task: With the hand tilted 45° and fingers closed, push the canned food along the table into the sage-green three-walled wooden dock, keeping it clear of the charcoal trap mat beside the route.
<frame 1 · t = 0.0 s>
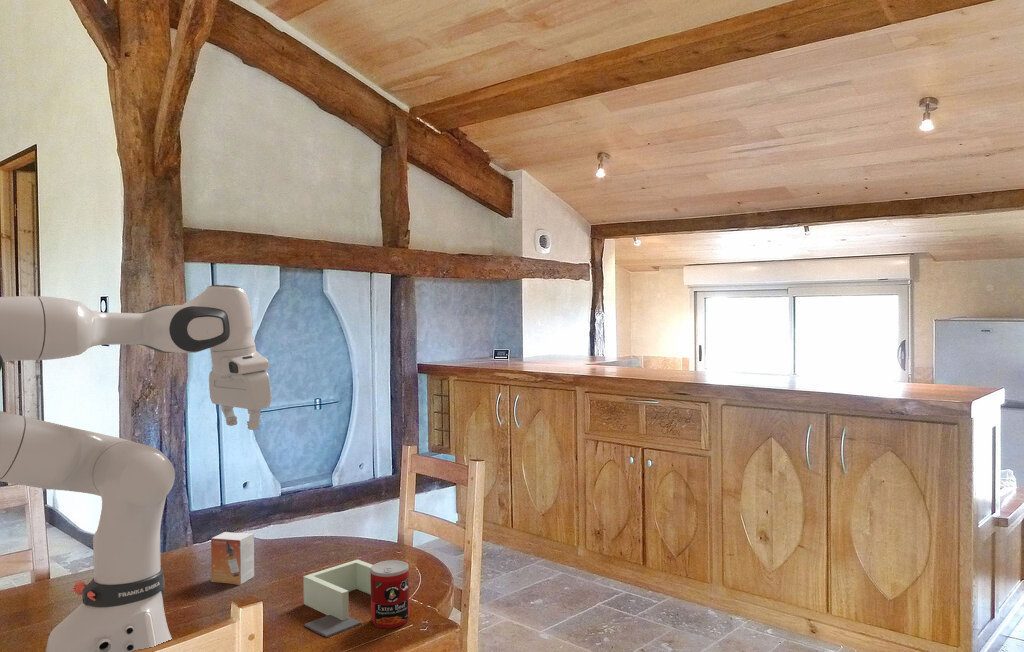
hand: (242, 427, 152), 39 cm above the table, tool pointing down, fingers open, 8 cm apart
small box: (233, 580, 171), on the table
dock: (353, 603, 155), on the table
canned food: (390, 621, 146), on the table
trap mat: (332, 625, 145), on the table
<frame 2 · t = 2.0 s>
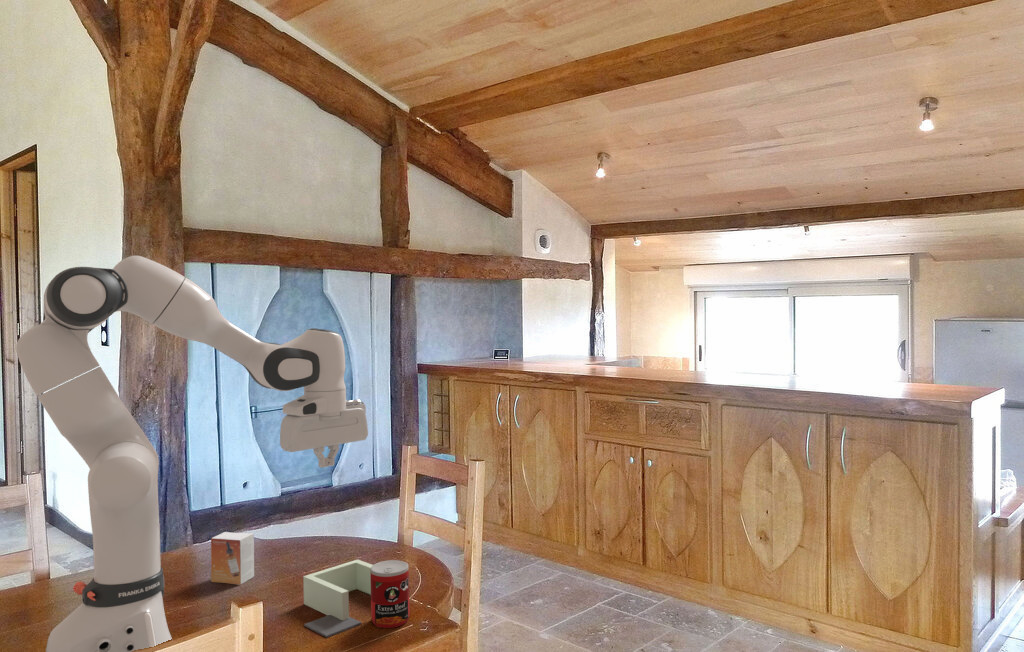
hand: (326, 466, 157), 29 cm above the table, tool pointing down, fingers closed
nothing on the table moved.
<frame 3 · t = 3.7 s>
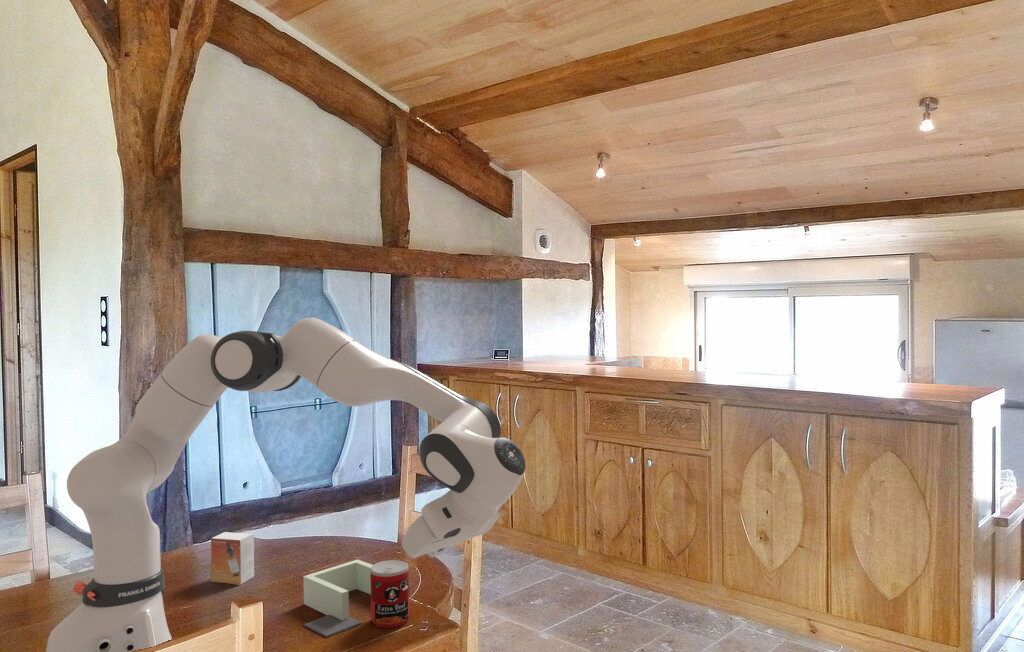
hand: (433, 552, 138), 16 cm above the table, tool tilted 45°, fingers closed
nothing on the table moved.
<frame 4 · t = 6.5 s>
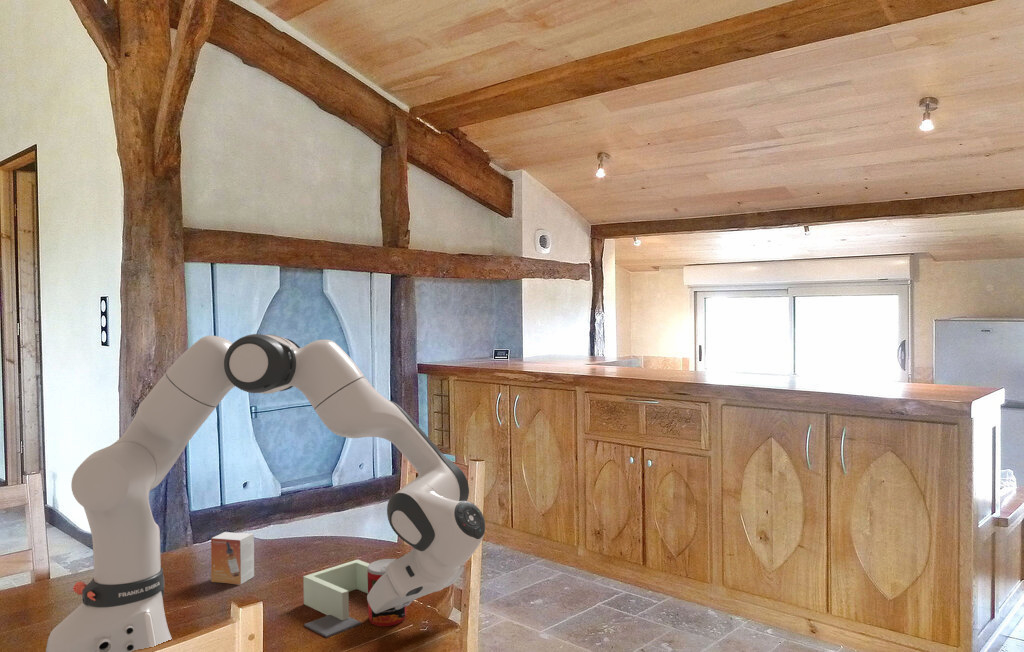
hand: (400, 604, 144), 4 cm above the table, tool tilted 45°, fingers closed, pressing on canned food
canned food: (387, 619, 147), on the table, touching gripper
everything else where it was.
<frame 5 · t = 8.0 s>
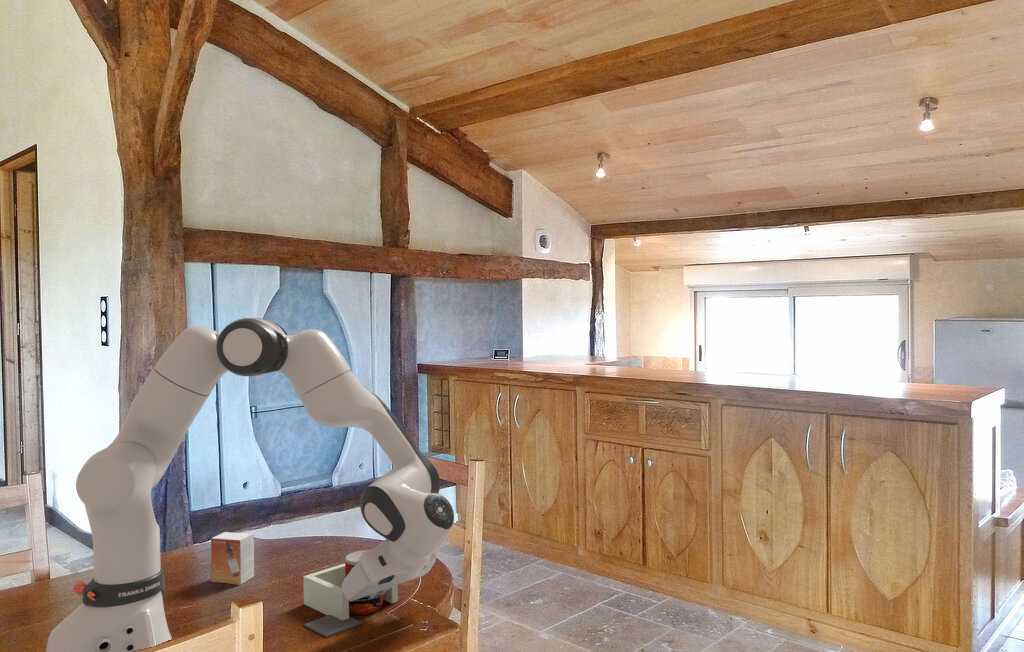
hand: (375, 593, 150), 4 cm above the table, tool tilted 45°, fingers closed, pressing on canned food
canned food: (364, 608, 153), on the table, touching gripper
everything else where it was.
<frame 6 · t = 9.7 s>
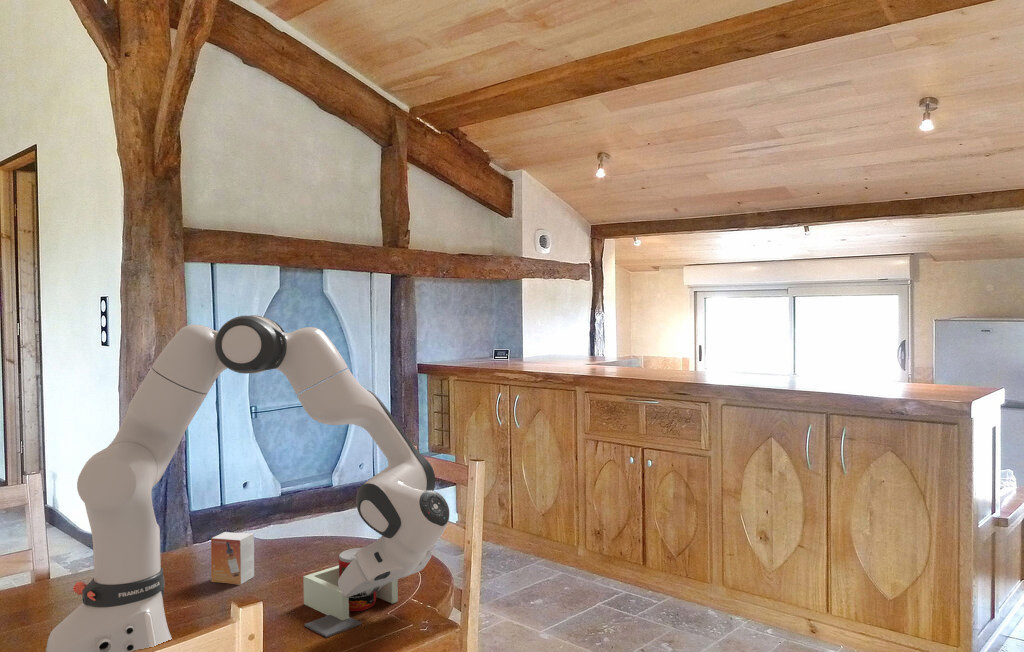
hand: (371, 589, 151), 5 cm above the table, tool tilted 45°, fingers closed
canned food: (358, 605, 155), on the table
everything else where it was.
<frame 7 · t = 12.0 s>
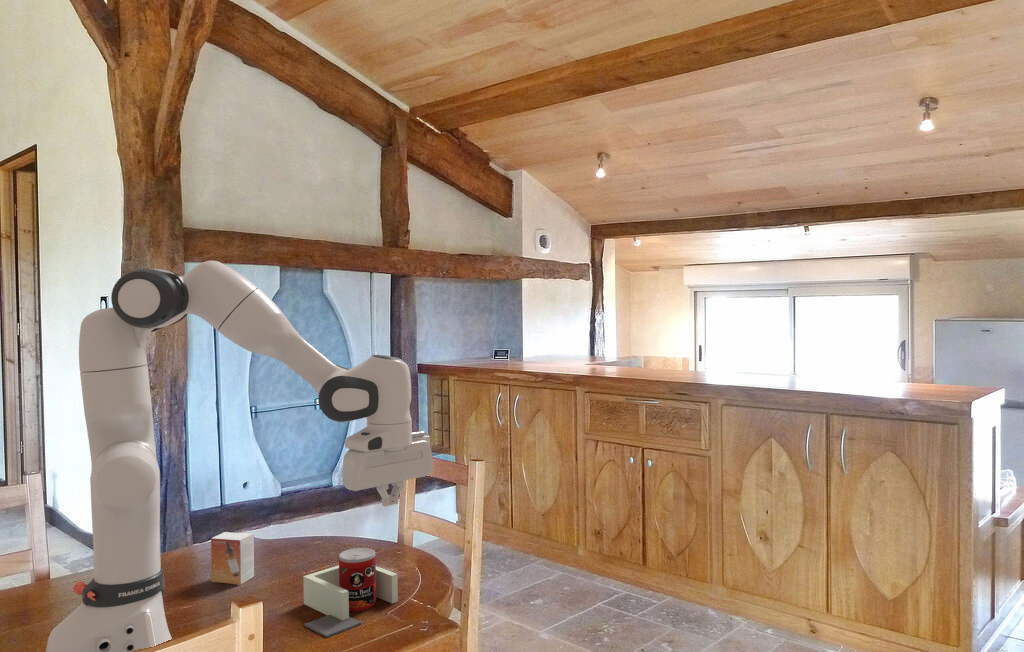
hand: (390, 504, 145), 24 cm above the table, tool pointing down, fingers closed
nothing on the table moved.
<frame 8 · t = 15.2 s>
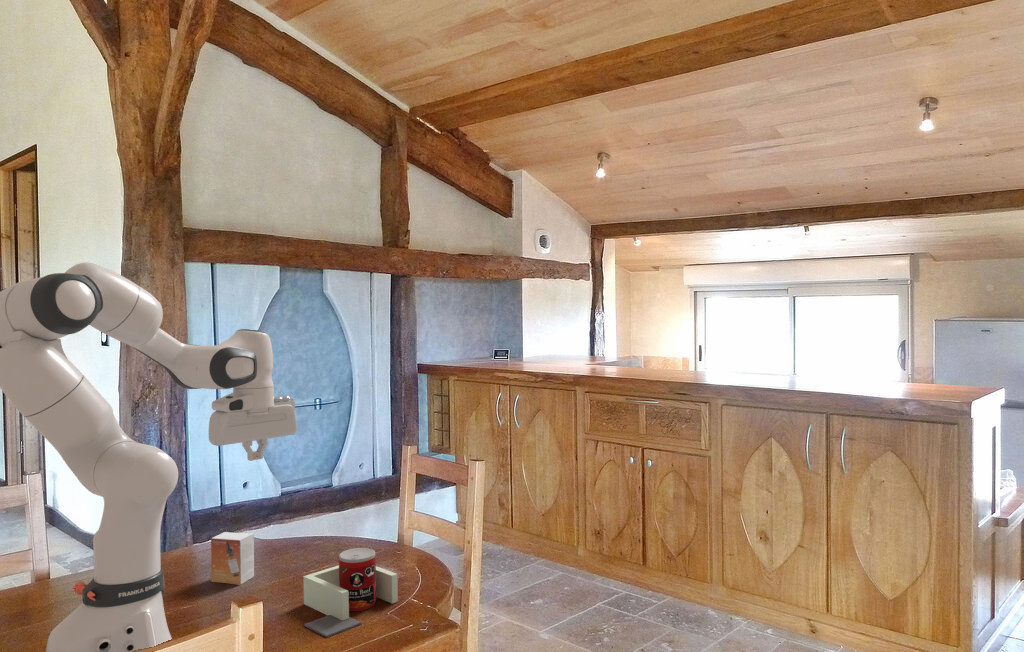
hand: (255, 459, 167), 29 cm above the table, tool pointing down, fingers closed
nothing on the table moved.
at the end: canned food inside the target area (0.8 cm from its centre), on the table; canned food tilted 0°; canned food moved 11.9 cm from its start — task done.
